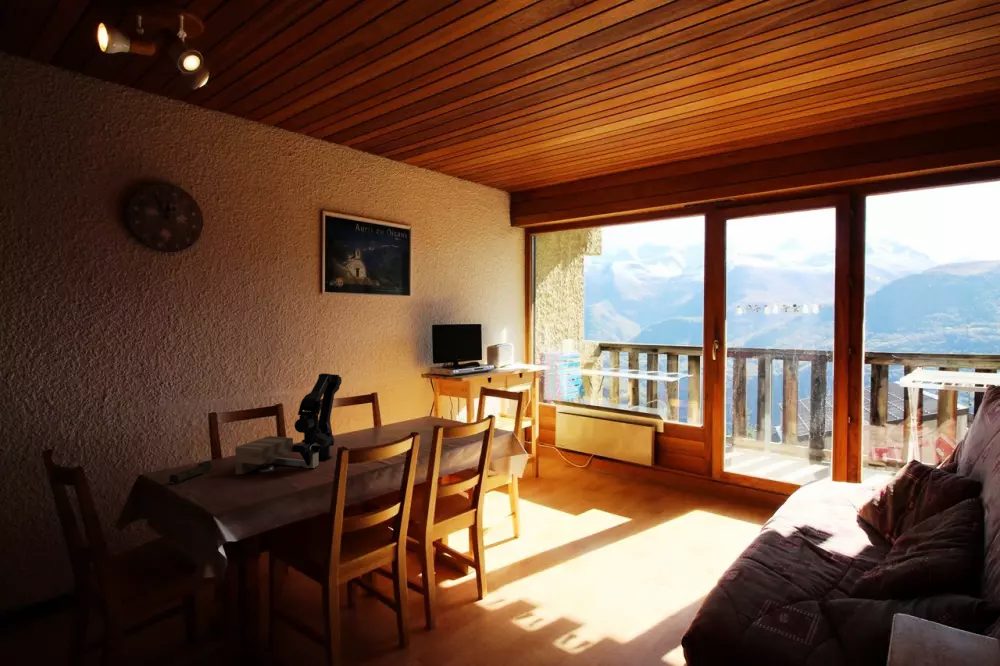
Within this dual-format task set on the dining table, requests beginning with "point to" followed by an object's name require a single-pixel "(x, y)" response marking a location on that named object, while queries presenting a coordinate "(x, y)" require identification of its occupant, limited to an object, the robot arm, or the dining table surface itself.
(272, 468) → the steel token
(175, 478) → the hand tool
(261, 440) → the beige stepped block
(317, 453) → the blade tool
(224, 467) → the dining table surface
